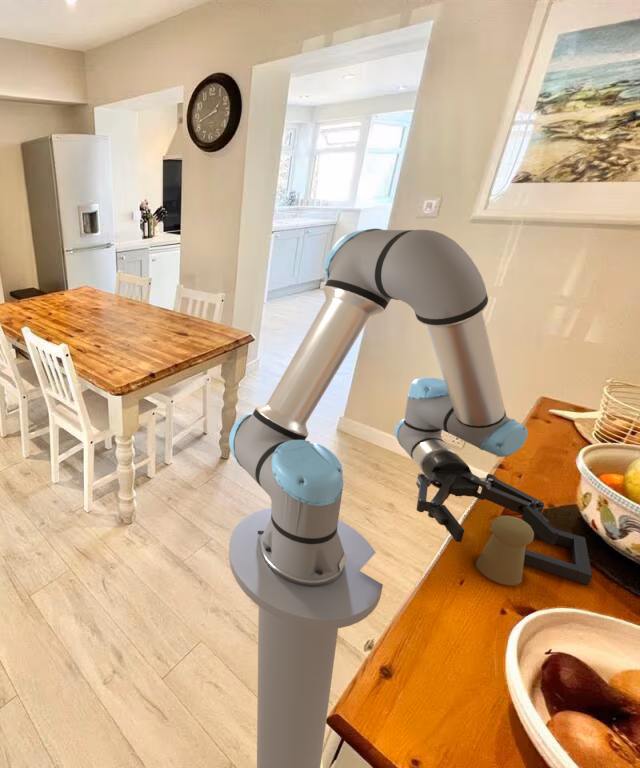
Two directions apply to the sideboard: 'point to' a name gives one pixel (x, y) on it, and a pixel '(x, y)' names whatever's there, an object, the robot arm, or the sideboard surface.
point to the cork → (505, 550)
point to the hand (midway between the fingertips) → (506, 538)
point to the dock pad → (573, 571)
